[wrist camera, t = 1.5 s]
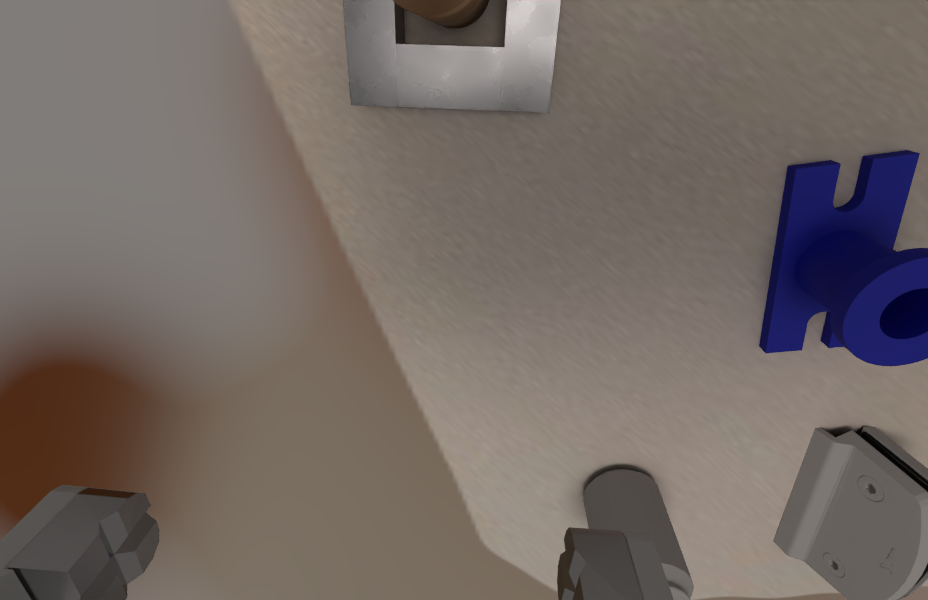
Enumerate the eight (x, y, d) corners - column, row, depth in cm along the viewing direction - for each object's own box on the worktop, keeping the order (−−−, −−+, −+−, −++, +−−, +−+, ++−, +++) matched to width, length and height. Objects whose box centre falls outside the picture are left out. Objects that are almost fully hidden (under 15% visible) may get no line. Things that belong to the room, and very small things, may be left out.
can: (591, 458, 47) (617, 577, 36) (666, 467, 47) (715, 590, 36) (575, 508, 50) (595, 631, 40) (645, 517, 50) (683, 642, 40)
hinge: (816, 424, 43) (942, 515, 34) (856, 412, 44) (988, 497, 35) (772, 543, 51) (866, 641, 42) (807, 530, 52) (906, 623, 43)
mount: (855, 336, 39) (943, 407, 31) (758, 344, 40) (820, 415, 32) (905, 149, 32) (1034, 181, 24) (786, 165, 33) (873, 200, 25)
